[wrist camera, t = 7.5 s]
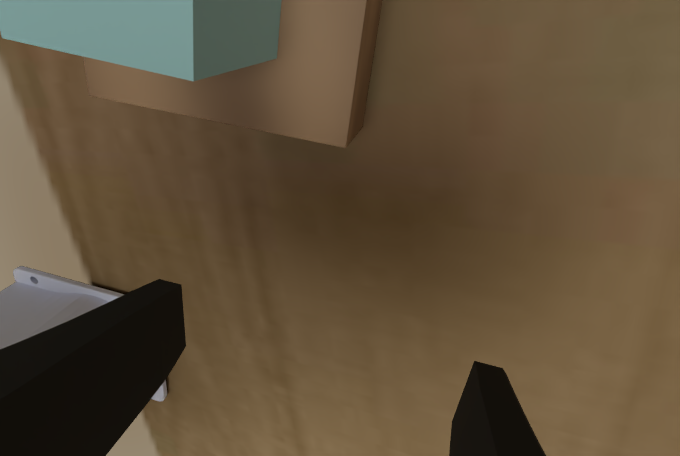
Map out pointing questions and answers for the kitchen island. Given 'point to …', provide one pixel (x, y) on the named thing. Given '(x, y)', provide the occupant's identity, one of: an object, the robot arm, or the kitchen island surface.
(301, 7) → the walnut block
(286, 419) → the kitchen island surface
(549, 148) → the kitchen island surface
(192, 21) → the teal cube
